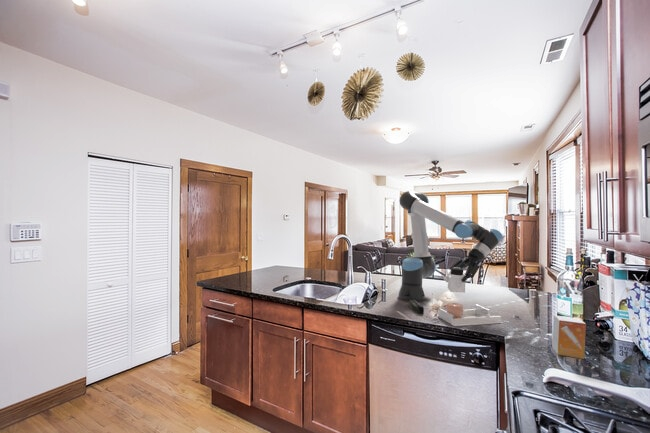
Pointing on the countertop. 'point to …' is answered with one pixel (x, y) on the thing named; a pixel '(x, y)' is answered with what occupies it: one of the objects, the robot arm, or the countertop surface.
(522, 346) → the countertop surface
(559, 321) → the small box
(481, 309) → the pusher
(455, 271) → the medicine bottle
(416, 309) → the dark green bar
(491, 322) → the white tray
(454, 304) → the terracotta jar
